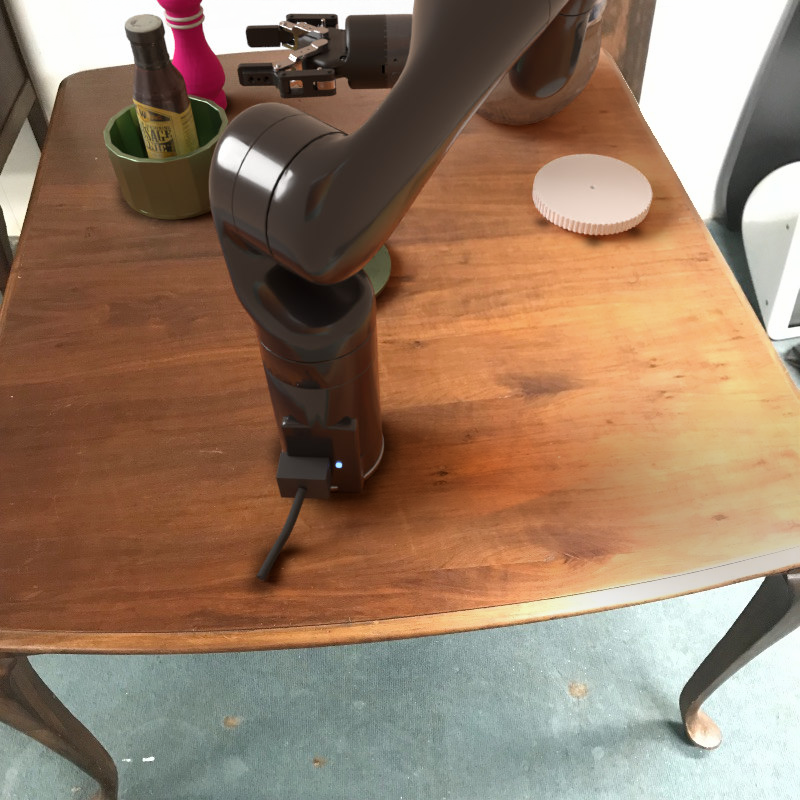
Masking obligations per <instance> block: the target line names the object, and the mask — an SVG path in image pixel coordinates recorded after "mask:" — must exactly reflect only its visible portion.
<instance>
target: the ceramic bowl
mask: <svg viewBox="0 0 800 800" xmlns="http://www.w3.org/2000/svg"><path fill="white" fill-rule="evenodd" d="M610 1H611V0H597V2H596V4H595V6H594V8H593V9H592V11H591V13H590V17H589V20H588V25H587V30H586V34H585V38H584V42H583V45H582V49H581V53H580V57H579V60H578V63H577V66H576V69H575V71H574V73H573V75H572V77H571V79H570V80H569V82H568V83H567V84H566V85H565V87H564V88H563V89H562V90H560V91H559V92H558V93H556V94H555V95H553V96H551V97H549V98H546V99H543V100H529V99H526V98H524V97H522V96H520V95H519V94H518V93H517V92H516V91H515V90H514V89H513V87H512V86H511V84H510V81H509V77H508V73H507V74H506V75H505V77H504V78H503V79H502V80H501V82H500V83H499V84H498V85H497V87H496V88H495V89H494V90H493V92H492V93H491V94H490V95H489V97H488V98H487V99H486V101H485V102H484V103H483V104H482V105H481V107H480V108H479V109H478V110H477V112H476V113H475V115H478V116H480V117H481V118H484V119H486V120H488V121H491V122H495V123H497V124H503V125H509V126H510V125H511V126H522V125H529V124H530V125H531V124H535V123H539V122H541V121H544V120H546V119H549V118H551V117H554V116H555V115H557V114H559V113H560V112H562V111H563V110H564V109H565V108H566V107H567V106H569V105H570V104H571V103H572V102H573V101H575V100H576V99H577V98H578V97H579V96H580V95H581V94H582V92H583V91H584V90H585V88H586V87H587V86H588V84H589V82H590V80H591V78H592V77H593V75H594V73H595V71H596V69H597V66H598V63H599V60H600V56H601V55H600V53H601V48H602V40H603V39H602V38H603V36H602V35H603V34H602V32H603V31H602V29H603V28H602V22H603V19H604V18H605V16H606V12H607V10H608V7H609V4H610Z"/></svg>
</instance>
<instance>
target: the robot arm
mask: <svg viewBox="0 0 800 800" xmlns="http://www.w3.org/2000/svg"><path fill="white" fill-rule="evenodd" d="M596 2H597V0H414V1H413V6H412V13H388V14H387V13H383V14H381V13H378V14H349V15H347V16H346V18H345V22H344V29H343V28H340V27H339V16H338V14H336V13H287V14H286V15H285V20H283V21H282V20H281V21H280V22H279V23H278V24H261V25H260V24H258V25H257V24H255V25H247V26H246V27H245V39H246V44H247V46H248V47H249V48H253V49H254V48H259V49H260V48H281V46H282V47H284V48H286V49H289V50H292V51H291V52H290V54H289V55H288V58H286V59H283V60H280V61H277V62H275V63H273V62H243V63H239V64H238V65H237V71H236V72H237V76H238V82H239V84H240V85H241V86H242V87H275V89H276V90H278V91H279V96H280V98H281V99H285V100H287V99H304V98H324V97H333V96H336V95H337V79H344V78H345V79H346V80H347V85H348V87H349V88H350V89H351V90H389V92H388V93H387V95H386V96H384V99H383V100H382V101H381V102H380V104H379V105H378V106H377V108H376V109H375V110H374V111H373V113H371V114H370V116H369V117H368V118H367V119H366V120H365V121H364V122H363V123H362V124H361V125H360V126H359V127H358V128H357V129H356V130H354V131H353V132H352V133H347V132H345V131H343V130H341V129H339V128H337V127H335V126H333V125H331V124H329V123H327V122H325V121H323V120H322V119H319V118H317V117H315V116H313V115H311V114H310V113H307V112H305V111H303V110H301V109H299V108H297V107H295V106H292V105H288V104H287V103H282V102H273V101H271V102H261V103H258V104H257V103H256V104H255V105H252V106H250V107H247V108H246V109H244V110H242V111H241V112H240V113H238V114H237V115H236V116H234V117H233V119H232V120H231V121H230V122H229V124H228V125H227V127H226V128H225V130H224V131H223V133H222V134H221V136H220V138H219V140H218V142H217V145H216V147H215V150H214V153H213V156H212V160H211V164H210V171H209V200H210V207H211V211H210V212H211V217H212V221H213V225H214V229H215V232H216V236H217V239H218V243H219V246H220V250H221V253H222V256H223V259H224V262H225V266H226V269H227V272H228V275H229V279H230V282H231V285H232V288H233V291H234V294H235V296H236V298H237V300H238V301H239V303H240V305H241V307H242V308H243V310H244V311H245V312H246V314H247V315H248V316H249V318H250V319H251V321H252V322H253V326H254V330H255V334H256V339H257V343H258V347H259V351H260V357H261V361H262V366H263V370H264V375H265V379H266V384H267V389H268V393H269V397H270V402H271V406H272V411H273V416H274V419H275V424H276V428H277V429H276V430H277V433H278V437H279V441H280V442H279V443H280V447H281V452H280V455H279V459H278V465H277V470H276V476H275V479H276V483H277V487H278V491H279V496H280V497H281V498H291V499H293V501H292V504H291V507H290V510H289V512H288V515H287V518H286V521H285V523H284V525H283V527H282V530H281V532H280V533H279V535H278V537H277V538H276V540H275V541H274V543H273V545H272V547H271V549H270V551H269V552H268V554H267V556H266V558H265V560H264V562H263V564H262V565H261V567H260V569H259V570H258V572H257V574H256V578H257V579H258V580H260V581H262V582H264V581H266V579H267V578H268V575H270V572H271V570H272V568H273V567H274V564H275V562H276V561H277V559H278V557H279V555H280V553H281V551H282V549H283V548H284V546H285V545H286V543H287V541H288V539H290V536H291V534H292V532H293V529H294V527H295V525H296V522H297V520H298V517H299V515H300V512H301V509H302V506H303V503H304V501H305V499H307V500H308V499H311V500H330V496H331V492H344V493H362V492H363V489H364V482H365V481H367V480H368V479H369V478H370V477H372V475H374V473H375V472H376V471H377V470H378V468H379V467H380V465H381V463H382V460H383V457H384V452H385V440H384V434H383V421H382V403H381V385H380V367H379V364H380V363H379V349H378V326H377V325H378V324H377V301H376V298H375V292H374V288H373V285H372V283H371V280H370V278H369V276H368V275H367V273H366V272H365V270H364V269H363V267H364V266H365V265H366V264H367V263H368V262H369V261H370V260H371V259H372V258H373V257H374V256H375V255H376V253H377V252H378V251H379V250H380V249H381V247H382V246H383V245H385V244H386V243H387V241H388V239H389V238H390V237H391V236H392V235H393V233H394V232H395V231H396V229H397V228H398V226H399V225H400V223H401V222H402V220H403V218H404V217H405V216H406V215H407V213H408V211H409V210H410V209H411V207H412V205H413V204H414V202H415V201H416V199H417V198H418V196H419V195H420V194H421V192H422V190H423V189H424V188H425V186H426V184H427V183H428V181H429V180H430V179H431V177H432V176H433V174H434V173H435V171H436V170H437V168H438V167H439V166H440V164H441V162H442V160H443V159H444V158H445V156H446V155H447V153H448V152H449V150H450V149H451V147H452V146H453V144H454V143H455V142H456V140H457V139H458V137H459V136H460V135H461V133H462V132H463V131H464V129H465V128H466V127H467V125H468V124H469V123H470V121H471V120H472V118H473V117H474V116H475V115H476V112H477V110H478V109H479V108H480V107H481V105H482V104H483V103H484V102H485V101H486V99H487V98H488V97H489V95H490V94H491V93H492V92H493V90H494V89H495V88H496V87H497V85H498V84H499V83H500V82H501V80H502V79H503V78H504V77H505V75H506V74H507V73H508V77H509V81H510V84H511V86H512V87H513V89H514V90H515V91H516V92H517V93H518V94H519V95H520V96H522V97H524V98H526V99H529V100H543V99H546V98H549V97H551V96H553V95H555V94H556V93H558V92H559V91H560V90H562V89H563V88H564V87H565V85H566V84H567V83H568V82H569V80H570V79H571V77H572V75H573V73H574V71H575V69H576V66H577V63H578V60H579V57H580V53H581V49H582V45H583V42H584V38H585V34H586V30H587V25H588V20H589V17H590V13H591V11H592V9H593V8H594V6H595V4H596ZM294 86H298V87H294Z"/></svg>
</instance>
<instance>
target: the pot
mask: <svg viewBox="0 0 800 800" xmlns="http://www.w3.org/2000/svg"><path fill="white" fill-rule="evenodd" d="M188 98H189V100H190V104H191V109H192V114H193V119H194V123H195V128H196V133H197V138H198V142H199V147H200V148H199V149H197V150H194V151H192V152H190V153H188V154H185V155H180V156H175V157H170V158H165V159H149V156H148V153H147V149H146V145H145V142H144V138H143V134H142V131H141V127H140V124H139V120H138V116H137V112H136V108H135V105H134V103H132V104H130V105H126V106H125V107H123V108H122V109H121V110H119V111H118V112H117V113H116V114H114V115H113V116H112V117H111V118H110V119H109V121H108V122H107V124H106V126H105V127H104V130H103V139H104V144H105V147H106V151H107V154H108V156H109V159H110V162H111V166H112V168H113V171H114V173H115V176H116V179H117V182H118V185H119V188H120V191H121V193H122V196H123V199H124V200H125V202H126V203H127V204H128V206H129V207H130V208H131V209H132V210H134V211H135V212H137V214H141V215H143V216H145V217H148V218H150V219H151V218H152V219H157V220H165V221H166V220H167V221H168V220H169V221H170V220H172V221H173V220H175V221H176V220H185V219H190V218H195V217H199V216H202V215H204V214H207V213H209V212H211V207H210V200H209V171H210V164H211V160H212V156H213V153H214V150H215V147H216V145H217V142H218V140H219V138H220V136H221V134H222V133H223V131H224V130H225V128H226V127H227V125H228V124H229V123H230V122H229V120H228V116H227V114H226V111H225V110H224V109H223V108H221V107H220V106H218V105H217V104H216V103H214V102H213V101H212V100H209V99H205V98H201V97H198V96H194V95H188Z"/></svg>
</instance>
